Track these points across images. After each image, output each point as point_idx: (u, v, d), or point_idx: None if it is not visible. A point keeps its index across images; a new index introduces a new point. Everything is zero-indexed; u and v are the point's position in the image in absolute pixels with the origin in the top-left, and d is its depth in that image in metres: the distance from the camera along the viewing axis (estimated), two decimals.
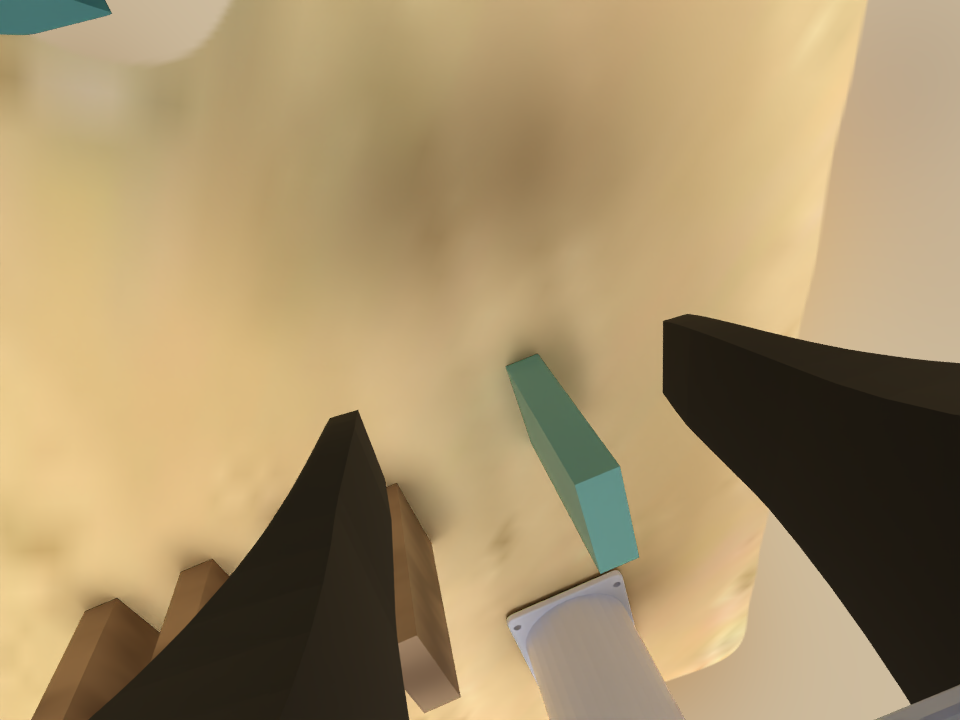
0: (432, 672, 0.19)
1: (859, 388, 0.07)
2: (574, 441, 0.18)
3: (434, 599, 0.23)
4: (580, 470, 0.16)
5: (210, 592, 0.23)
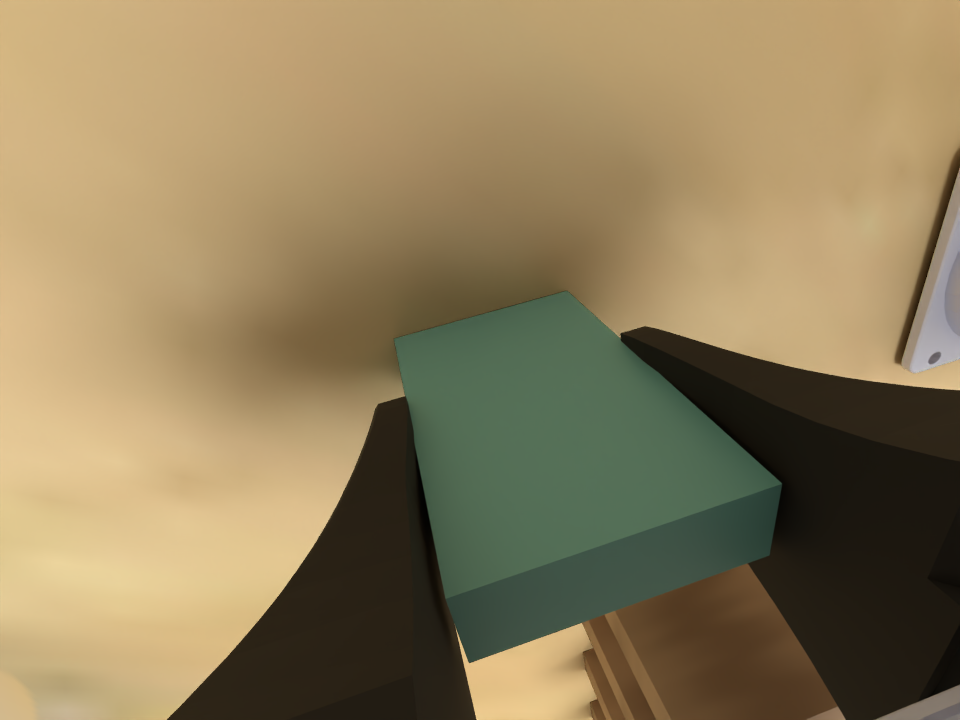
0: None
1: (793, 409, 0.07)
2: None
3: (726, 581, 0.15)
4: None
5: (607, 682, 0.22)
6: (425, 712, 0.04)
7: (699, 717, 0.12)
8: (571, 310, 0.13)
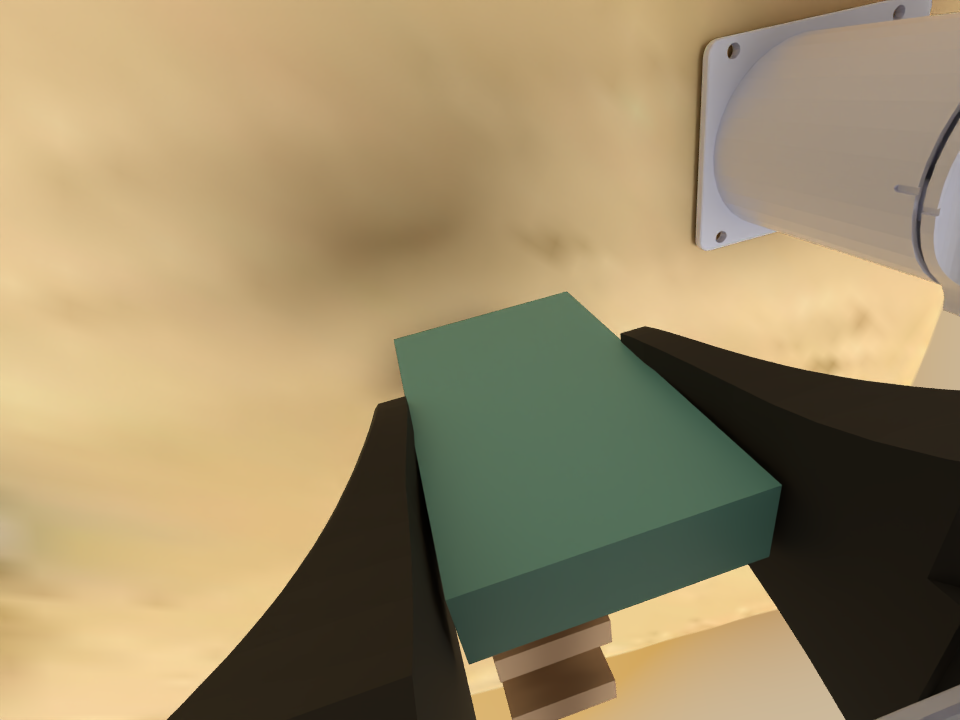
0: None
1: (793, 409, 0.07)
2: None
3: None
4: None
5: None
6: (425, 713, 0.04)
7: None
8: (571, 311, 0.13)
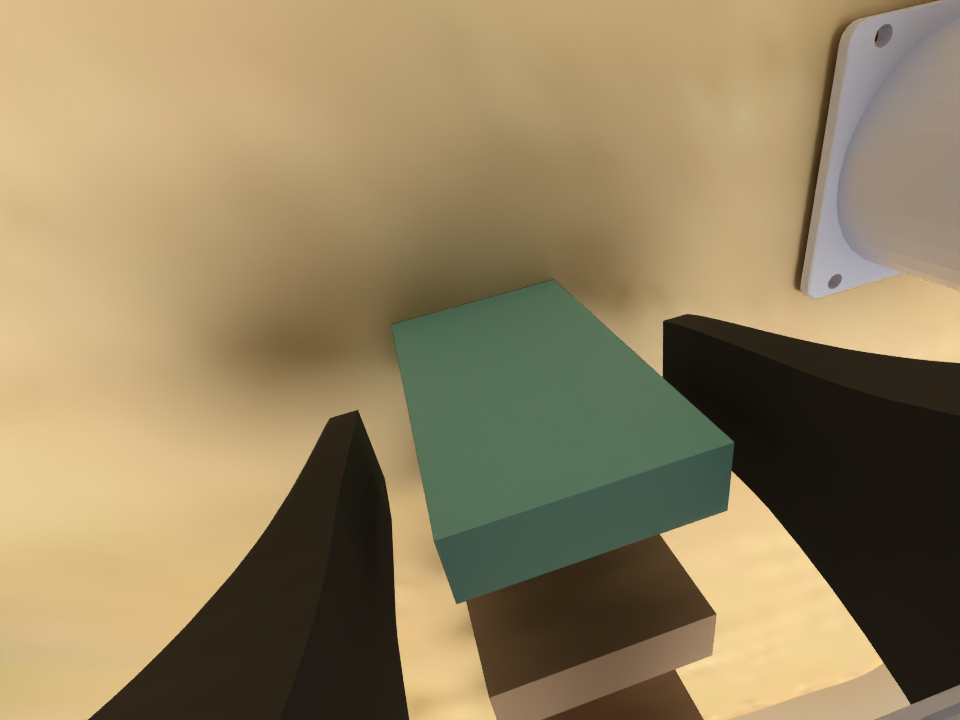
0: (606, 663, 0.10)
1: (859, 388, 0.07)
2: None
3: None
4: None
5: None
6: None
7: (509, 649, 0.11)
8: (557, 297, 0.14)
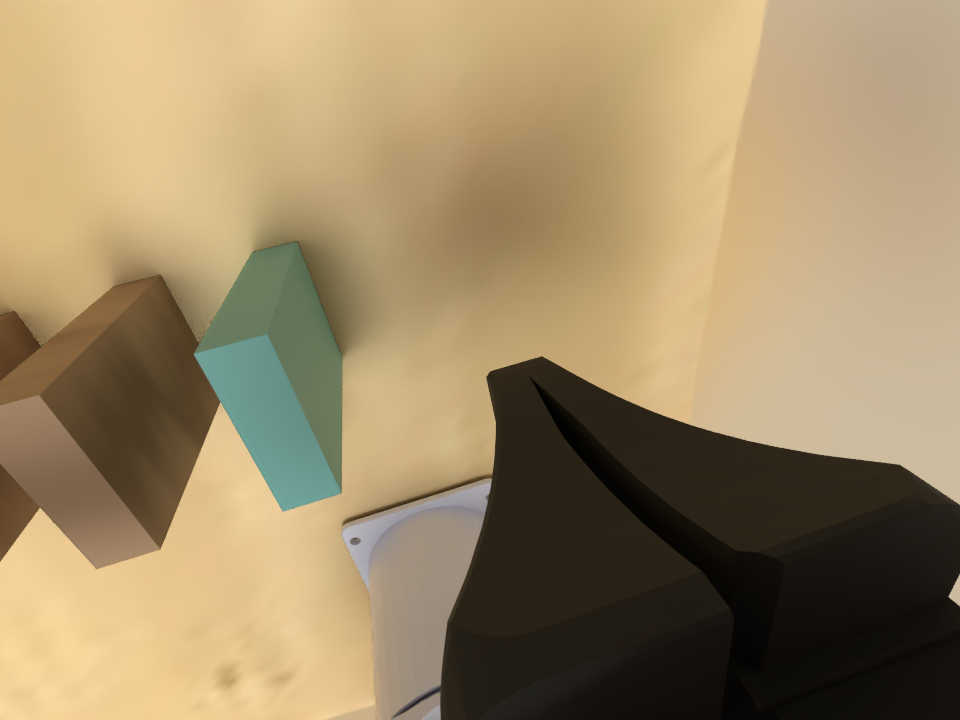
0: (91, 484, 0.12)
1: (629, 463, 0.07)
2: (244, 312, 0.12)
3: (172, 424, 0.15)
4: (217, 339, 0.11)
5: None
6: None
7: (74, 400, 0.11)
8: (339, 364, 0.19)
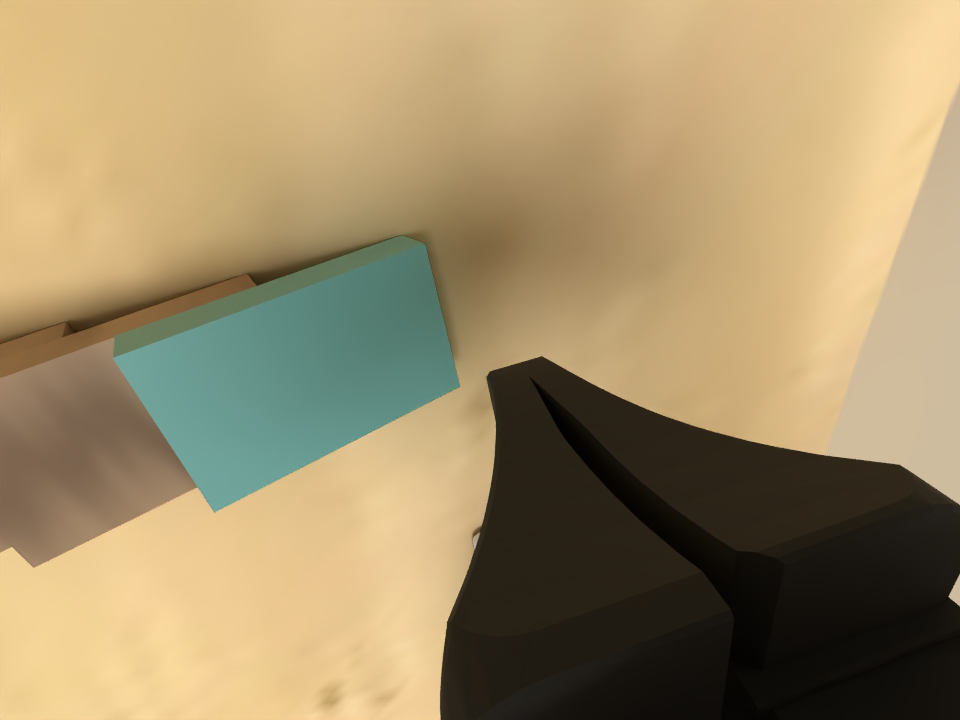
0: None
1: (629, 463, 0.07)
2: (195, 316, 0.12)
3: (150, 458, 0.14)
4: (136, 333, 0.12)
5: None
6: None
7: None
8: (426, 393, 0.16)
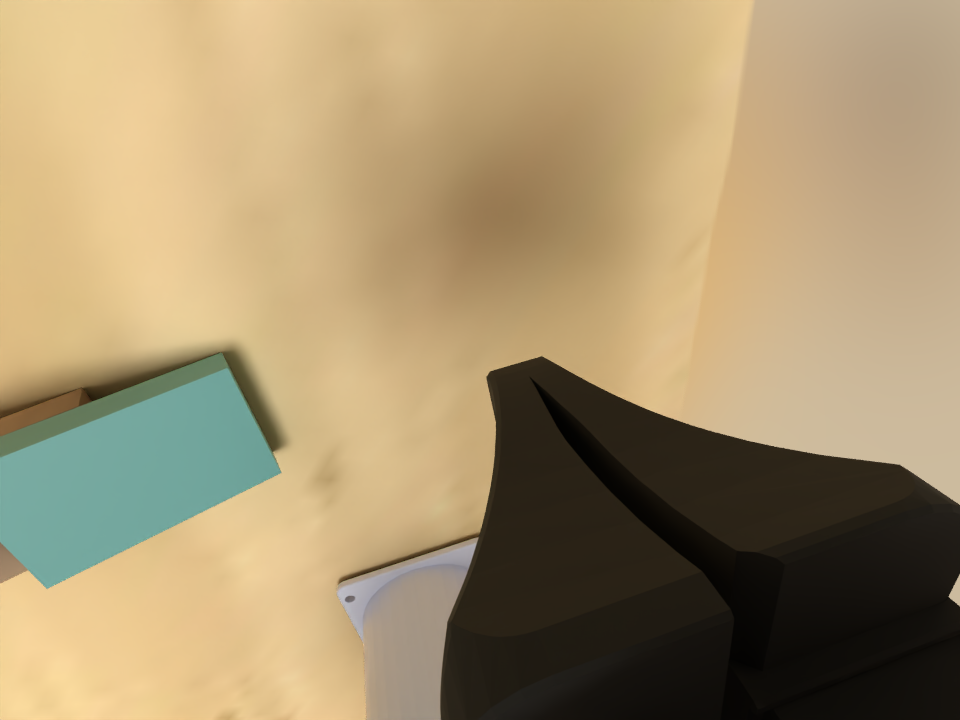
0: None
1: (629, 463, 0.07)
2: (21, 438, 0.15)
3: None
4: None
5: None
6: None
7: None
8: (246, 480, 0.19)
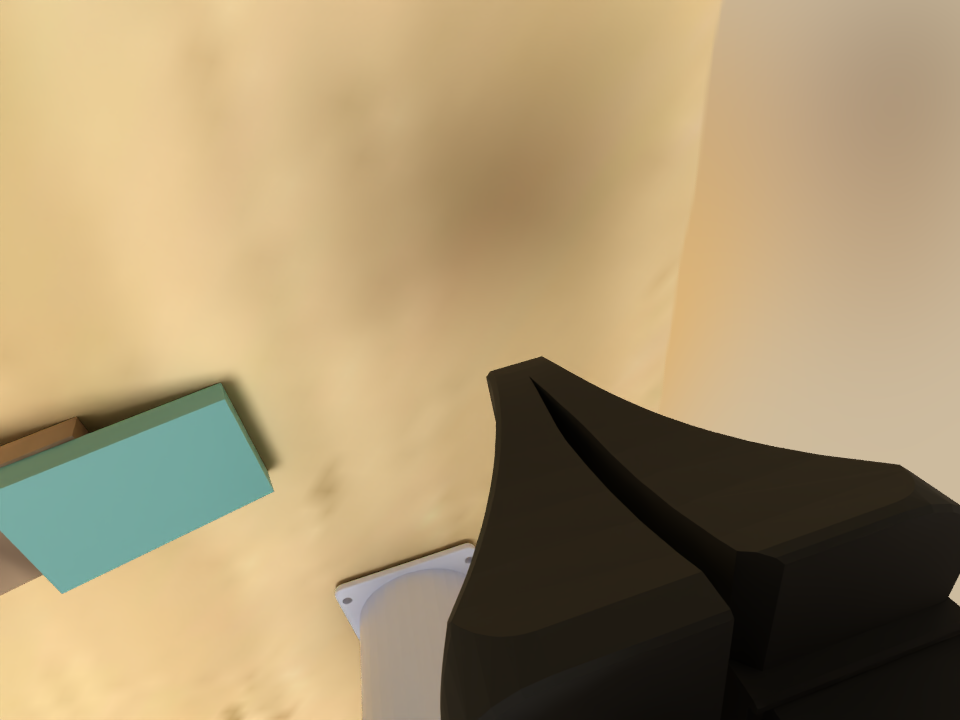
0: None
1: (629, 463, 0.07)
2: (41, 461, 0.17)
3: None
4: None
5: None
6: None
7: None
8: (241, 499, 0.21)
